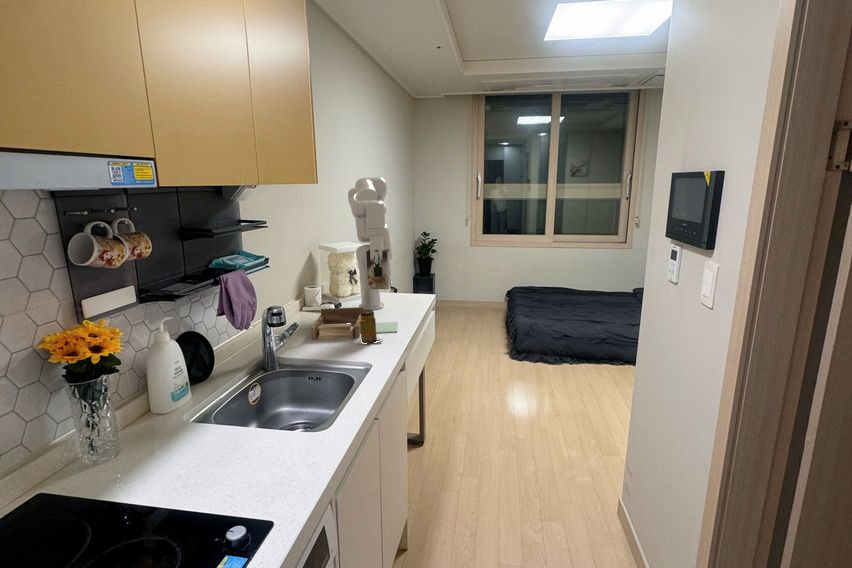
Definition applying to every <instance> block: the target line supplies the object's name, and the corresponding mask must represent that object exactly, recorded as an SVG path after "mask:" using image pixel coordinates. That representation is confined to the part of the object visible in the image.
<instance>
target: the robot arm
mask: <svg viewBox="0 0 852 568" xmlns="http://www.w3.org/2000/svg"><path fill="white" fill-rule="evenodd" d="M387 191H388V186H387V182H386V181H385V179H384V178H383V177H379V176H378V177H376V176H375V177H362V178H358V179H357V181H356V182H355V185H354V187H352V188H349V190H348V192H347V197H348V198H347V199H348V200H347V201H348V204H349V206H350V210H351V213H352V216H353V217H354V218H355V219H354V221H355V228H356V238H357V240H358V241H359V243H363V245H360V246H358V247H357V248H356V251H355V253H356V254H355V255H356V256H355V257H356V260H357V264H358V272H359V284H360V285H359V288H360V299H361V303H360V304H359V305H358V307H364V311H368V310H370V311H375V310H379V309H382V308H384V305H385V304H384V302H382V301H381V291H380V290H381V289H368V277H367V259H366V251H368V250H369V249H370V260H371V261H372V260H373V259H374V276H375V277H382V267H381V260H382V256H383V250H384V249H390V262H391V261H392V259H393V252H392V251H393V250H392V243H391V236H390V230H389V227H388V225H387V224H386V214H387V206H386V204H385V202H384V201H385V197H386V195H387ZM364 243H365V244H364ZM366 243H367V244H366ZM368 243H369V244H368ZM378 252H379V254H378ZM378 258H380V259H378Z"/></svg>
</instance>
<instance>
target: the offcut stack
mask: <svg viewBox="0 0 852 568" xmlns="http://www.w3.org/2000/svg"><path fill="white" fill-rule="evenodd" d="M354 327H355V326H352V324H323V325H320V326H319V335H318V337H317V340H319V339H320V340H340V339H339V338H348V339H354V337H355V332H354ZM337 338H338V339H337Z"/></svg>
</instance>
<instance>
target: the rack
mask: <svg viewBox="0 0 852 568" xmlns="http://www.w3.org/2000/svg"><path fill="white" fill-rule="evenodd" d="M362 311H365V310H364V307H359V306H358V307H357V306H356V307H354V306H353V307H331V308H330V307H329V308H320V314H319V316H318V318H317V319H316V320H315V322H314V323H313V324H312V326H311V327H310V334H311V340H312V341H316V340H318V335H319V326H320V325H323V324H347V323H353V324H355V325H354V326H353V327H354V332H355V335H354V337H355V339H360V338H361V335H360V334H361V328H360V319H361V314H360V313H361V312H362Z"/></svg>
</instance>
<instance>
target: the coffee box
mask: <svg viewBox="0 0 852 568" xmlns="http://www.w3.org/2000/svg"><path fill="white" fill-rule="evenodd" d="M378 254H379V252H378ZM366 259H367V277H368V289H380V290H390V289H391V287H392V276H391V275H392V274H391V273H392V272H391V261H390V249H384V250H383V256H382V260H381V267H382V277H375V276H374V259H373V260H372V261H371V260H370V249H369V250H368V251H366ZM378 259H380V258H378Z"/></svg>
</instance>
